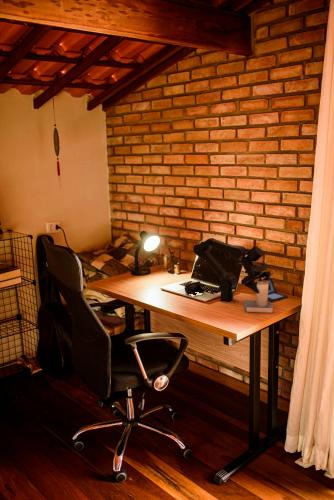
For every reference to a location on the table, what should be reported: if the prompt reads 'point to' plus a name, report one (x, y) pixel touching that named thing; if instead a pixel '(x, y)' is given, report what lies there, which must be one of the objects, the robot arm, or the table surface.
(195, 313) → the table surface
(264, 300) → the pen cup
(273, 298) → the handheld game console
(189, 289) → the end cap
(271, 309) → the gray book
